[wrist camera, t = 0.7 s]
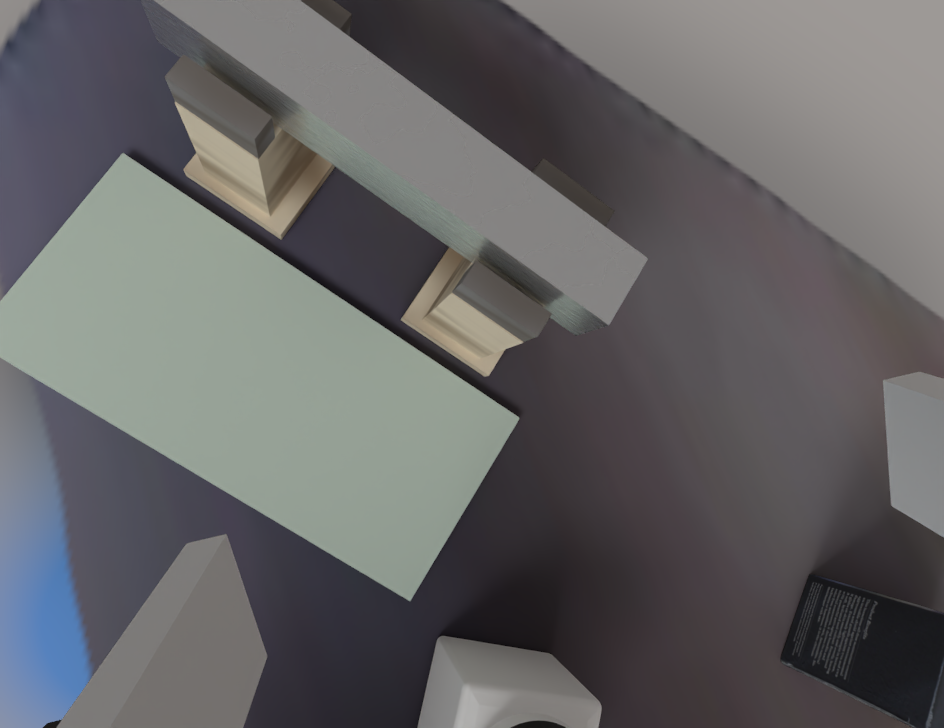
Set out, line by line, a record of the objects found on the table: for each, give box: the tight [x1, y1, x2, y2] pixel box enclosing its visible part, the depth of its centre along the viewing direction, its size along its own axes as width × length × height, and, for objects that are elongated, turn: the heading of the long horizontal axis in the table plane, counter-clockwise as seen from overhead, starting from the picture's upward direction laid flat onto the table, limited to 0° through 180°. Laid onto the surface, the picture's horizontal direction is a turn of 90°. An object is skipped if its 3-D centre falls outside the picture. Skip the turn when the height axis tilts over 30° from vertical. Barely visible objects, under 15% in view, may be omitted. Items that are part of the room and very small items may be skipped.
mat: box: [0, 153, 520, 601], centre depth 35 cm, size 12×26×1 cm, turn 57°
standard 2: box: [165, 0, 352, 240], centre depth 31 cm, size 8×6×11 cm
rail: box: [141, 0, 648, 336], centre depth 27 cm, size 22×4×4 cm, turn 57°
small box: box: [781, 575, 944, 728], centre depth 38 cm, size 11×6×10 cm, turn 64°
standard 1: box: [401, 158, 614, 377], centre depth 33 cm, size 8×6×11 cm
